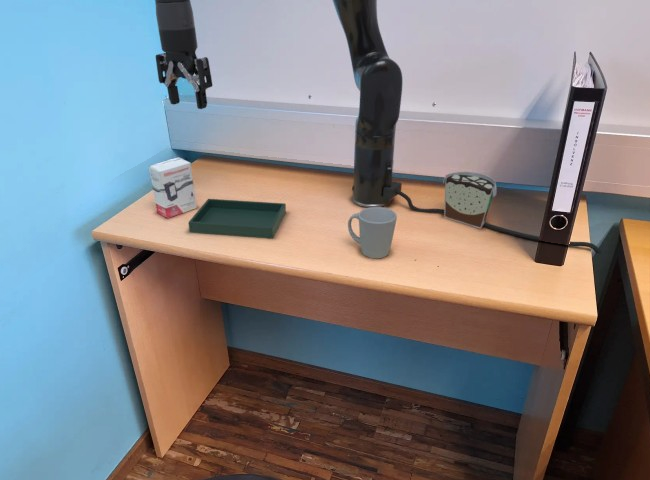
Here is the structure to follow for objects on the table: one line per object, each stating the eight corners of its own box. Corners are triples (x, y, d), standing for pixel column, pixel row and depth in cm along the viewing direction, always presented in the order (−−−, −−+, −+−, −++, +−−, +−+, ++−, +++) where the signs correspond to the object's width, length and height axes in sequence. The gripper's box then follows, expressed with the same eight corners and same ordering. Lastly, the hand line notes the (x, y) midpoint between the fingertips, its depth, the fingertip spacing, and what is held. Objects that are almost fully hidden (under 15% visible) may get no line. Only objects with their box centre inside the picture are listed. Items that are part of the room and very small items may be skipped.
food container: (500, 221, 123) (508, 179, 118) (487, 231, 120) (495, 188, 114) (452, 207, 130) (457, 166, 125) (438, 215, 127) (443, 174, 121)
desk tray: (286, 213, 129) (285, 203, 128) (272, 238, 119) (272, 228, 117) (209, 208, 133) (208, 198, 131) (189, 232, 122) (188, 222, 120)
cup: (386, 264, 108) (389, 225, 104) (340, 254, 112) (341, 216, 108) (399, 248, 114) (402, 210, 109) (355, 238, 118) (356, 202, 113)
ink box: (167, 219, 128) (159, 171, 121) (156, 213, 131) (147, 165, 124) (197, 208, 133) (191, 161, 126) (186, 202, 136) (179, 156, 129)
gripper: (213, 24, 112) (223, 105, 121) (166, 21, 119) (178, 98, 128) (187, 30, 107) (199, 114, 116) (139, 26, 114) (154, 106, 123)
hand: (188, 105), depth 122 cm, fingers open, 8 cm apart
